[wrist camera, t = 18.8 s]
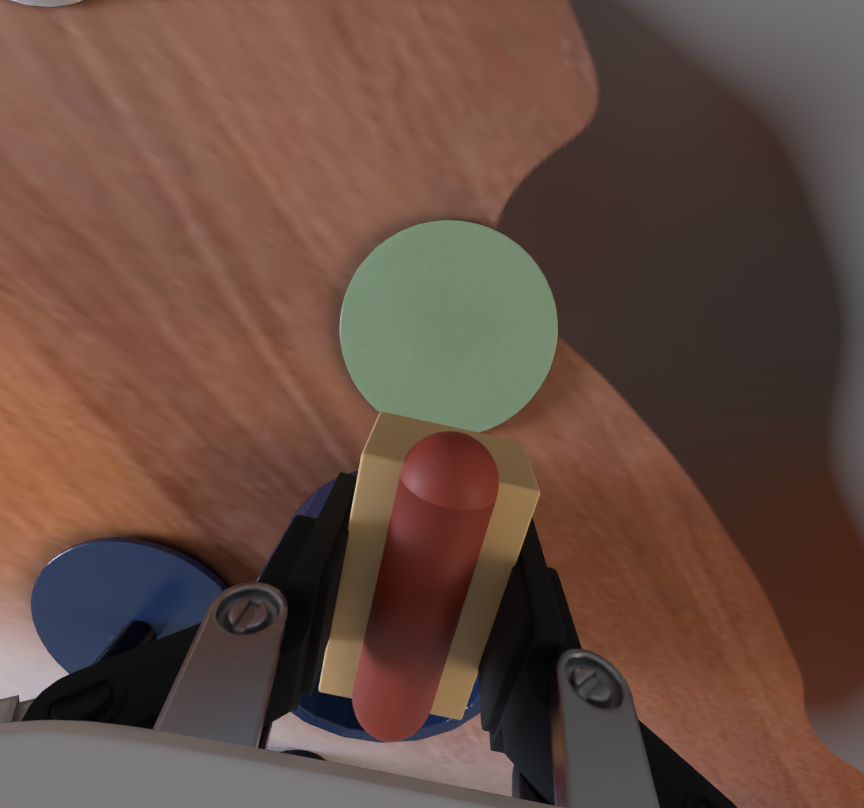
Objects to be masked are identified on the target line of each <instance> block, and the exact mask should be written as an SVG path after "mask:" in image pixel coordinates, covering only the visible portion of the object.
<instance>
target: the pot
mask: <svg viewBox="0 0 864 808" xmlns="http://www.w3.org/2000/svg"><path fill="white" fill-rule="evenodd" d="M349 474H350V475H355V476H357V475H358V471H356V472H353V473H349ZM336 480H337V478H336V479H334V480H332V481H330V482H328V483H327V484H325V485H324V486H322V487H321V488H319V489H318V490H317V491H316V492H314V493H313V494H312V495H311V496H310V497H309V498H308V499H307V500H306V501H305V502H304V504H303V505H302V506H301V507H300V508H299V509H298V510H297V511H296V513H295V515H294V517H293V518H292V520H291V522H290V524H291V523H292V521H293V519H294V518H295V516H296V515H298V514H299V515H304V516H308V517H313V518H318V516H319V514H320V512H321V510H322V508H323V506H324V504H325V502H326V500H327V498H328V496H329V494H330V492H331V490H332V488H333V486H334V484H335V482H336ZM290 524H289V525H288V527H287V529H286V530H285V532H284V534H283V536H284V535H285V533H286V531H287V530H288V528H289V526H290ZM283 536H282V537H281V539H280V541H279V542H278V544H277V546H276V548H277V547H278V545H279V543H280V542H281V540H282V538H283ZM276 548H275V549H274V551H273V553H272V554H271V556H270V558H269V560H270V559H271V557H272V555H273V554H274V552H275V550H276ZM269 560H268V561H267V563H266V565H265V567H266V566H267V564H268V562H269ZM265 567H264V568H263V570H262V572H263V571H264V569H265ZM262 572H261V573H260V575H259V577H258V579H259V578H260V576H261V574H262ZM258 579H257V580H256V582H257V581H258ZM324 656H325V654H324ZM323 661H324V657H323V660H322V663H321V666H320V669H319V673H318V676H317V679H316V682H315V685H314V689H313V692H312V694H311V696H309V695H304V694H302V696H301V699H300V701H299V704H298V707H297V710H296V712H295V711H290V712H291V713H293V714H294V715H296V716H297V717H299V718H300V719H302V720H303V721H304V722H307V723H308V724H311V725H314V726H316V727H319V728H321V729H324V730H326V731H329V732H332V733H334V734H337V735H339V736H343V737H347V738H354V739H360V740H366V741H373V742H381V743H385V742H384V741H381V740H378V739H376V738H374V737H372V736H371V735H370V734H368V733H367V732H366V731H365V730H364V728H363V727H362V726H361V725H360V723H359V721H358V719H357V718H356V715H355V712H354V708H353V702H352V698H347V697H342V696H337V695H332V694H327V693H322V692H319V683H320V677H321V672H322V667H323ZM479 713H481V711H480V694H479V677H478V674H477V677H476V680H475V683H474V686H473V689H472V692H471V695H470V697H469V700H468V703H467V706H466V709H465V712H464V715H463V717H462V719H461V720H458V719H453V718H448V717H443V716H438V715H433V714H429V716H428V718H427V720H426V721H425V723H424V724H423V726H422V727H421V728H420V729H419V730H418V731H417V732H416V733H415V734H414V735H412V736H410V737H409V738H407V739H404V740H401V741H416V740H422V739H425V738H428V737H431V736H435V735H438V734H441V733H444V732H448V731H451V730H453V729H456V728H457V727H459V726H460V725H462V724H464V723H465V722H467V721H468V720H470V719H471V718H473V717H475V716H476V715H478V714H479ZM401 741H398V742H401Z"/></svg>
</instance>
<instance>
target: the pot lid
mask: <svg viewBox="0 0 864 808" xmlns="http://www.w3.org/2000/svg"><path fill="white" fill-rule="evenodd" d="M226 589H228V587H227V586H226V585H225V584H224V583H223V582H222V581H221V580H220V579H219V578H218V577H217V576H216V575H215V574H214V573H212V572H211V571H210V570H208V569H207V568H206V567H205V566H203V565H202V564H200V563H198V562H197V561H195V560H194V559H192V558H190V557H188V556H186V555H184V554H183V553H181V552H179V551H176V550H174V549H171V548H169V547H166V546H163V545H160V544H157V543H153V542H149V541H145V540H139V539H133V538H119V537H115V538H101V539H95V540H89V541H86V542H83V543H80V544H77V545H75V546H73V547H71V548H68V549H66V550H65V551H63V552H62V553H60V554H59V555H58V556H56V557H55V558H54V559H52V560H51V561H50V562H49V563H48V564H47V565H46V566H45V567H44V568H43V570H42V571H41V573H40V574H39V576H38V578H37V580H36V582H35V585H34V587H33V592H32V597H31V611H32V617H33V622H34V625H35V628H36V631H37V633H38V635H39V637H40V639H41V641H42V643H43V644H44V646H45V647H46V649H47V650H48V652H49V653H50V654H51V655H52V657H53V658H54V659H55V660H56V661H57V663H58V664H60V665H61V666H62V667H63V668H64V669H65V670H66V671H67V672H68V673H69V674H71V673H73V672H75V671H78V670H80V669H83V668H86V667H88V666H91V665H93V664H96V663H98V662H101V661H104V660H106V659H109V658H111V657H114V656H116V655H119V654H122V653H124V652H127V651H129V650H132V649H134V648H137V647H140V646H142V645H145V644H147V643H150V642H152V641H155V640H158V639H160V638H163V637H165V636H168V635H170V634H173V633H176V632H178V631H181V630H183V629H186V628H188V627H191V626H194V625H196V624H199V623H201V622H202V620H203V618H204V616H205V614H206V611H207V609H208V607H209V606H210V604H211V603H212V601H213V600H214V598H215V597H216V596H218V595H219V594H220V593H221V592H223V591H224V590H226Z"/></svg>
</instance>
